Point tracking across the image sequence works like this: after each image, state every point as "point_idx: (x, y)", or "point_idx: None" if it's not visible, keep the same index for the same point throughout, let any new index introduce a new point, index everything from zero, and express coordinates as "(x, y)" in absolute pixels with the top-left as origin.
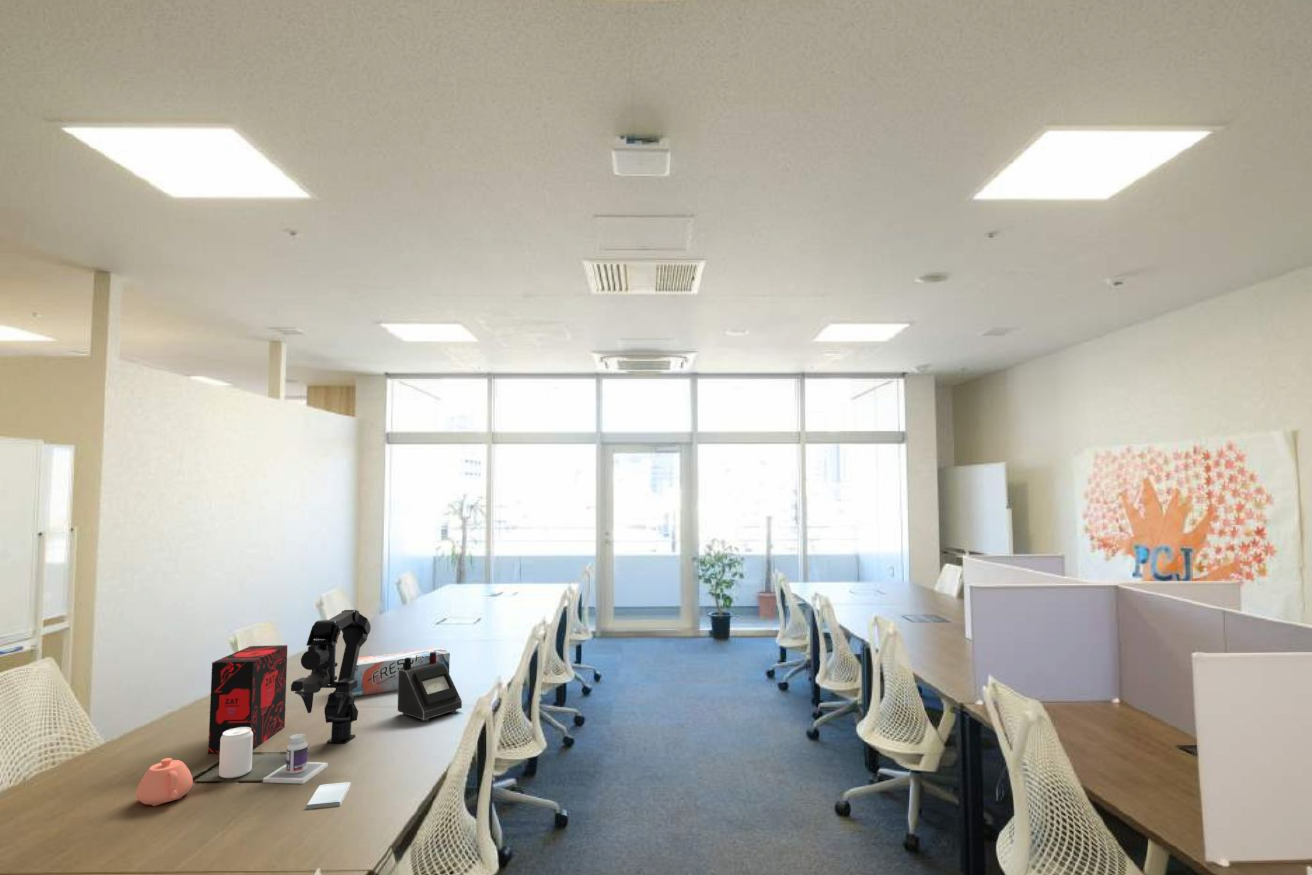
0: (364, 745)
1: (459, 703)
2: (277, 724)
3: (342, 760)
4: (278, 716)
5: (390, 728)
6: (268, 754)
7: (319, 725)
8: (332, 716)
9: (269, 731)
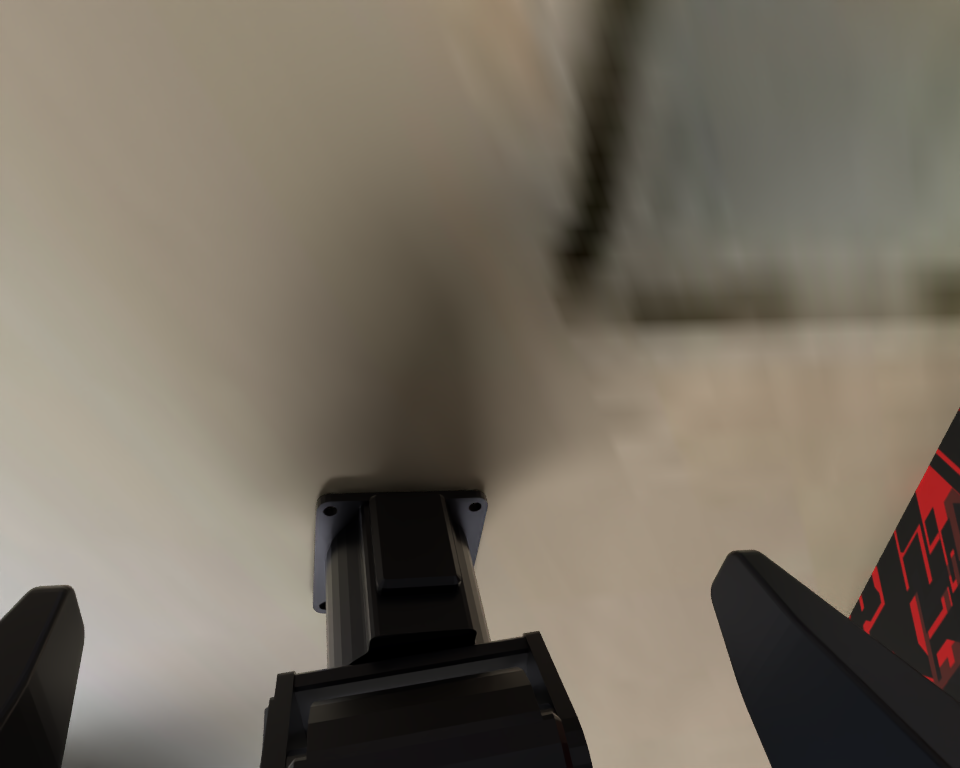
0: (103, 472)
1: None
2: (896, 632)
3: (42, 92)
4: None
5: (134, 726)
6: (878, 268)
7: (647, 688)
8: (468, 684)
9: (931, 556)
